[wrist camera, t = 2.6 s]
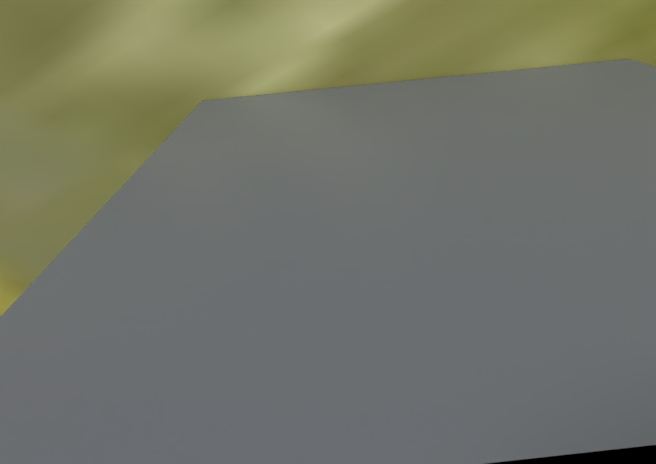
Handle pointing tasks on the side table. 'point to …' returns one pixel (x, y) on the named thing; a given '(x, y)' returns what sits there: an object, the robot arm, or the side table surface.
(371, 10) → the side table surface
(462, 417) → the grey block
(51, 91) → the side table surface
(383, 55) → the side table surface
